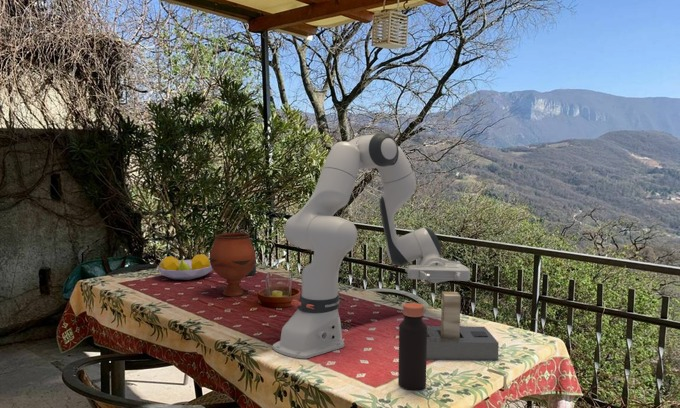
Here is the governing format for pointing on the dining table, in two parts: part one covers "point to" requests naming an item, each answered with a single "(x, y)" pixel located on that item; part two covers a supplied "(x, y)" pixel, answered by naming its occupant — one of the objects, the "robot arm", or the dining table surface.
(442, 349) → the socket block
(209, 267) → the fruit bowl
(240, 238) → the goblet
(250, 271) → the jar
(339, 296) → the pliers
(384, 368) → the dining table surface
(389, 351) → the dining table surface
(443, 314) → the birch peg
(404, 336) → the bottle
